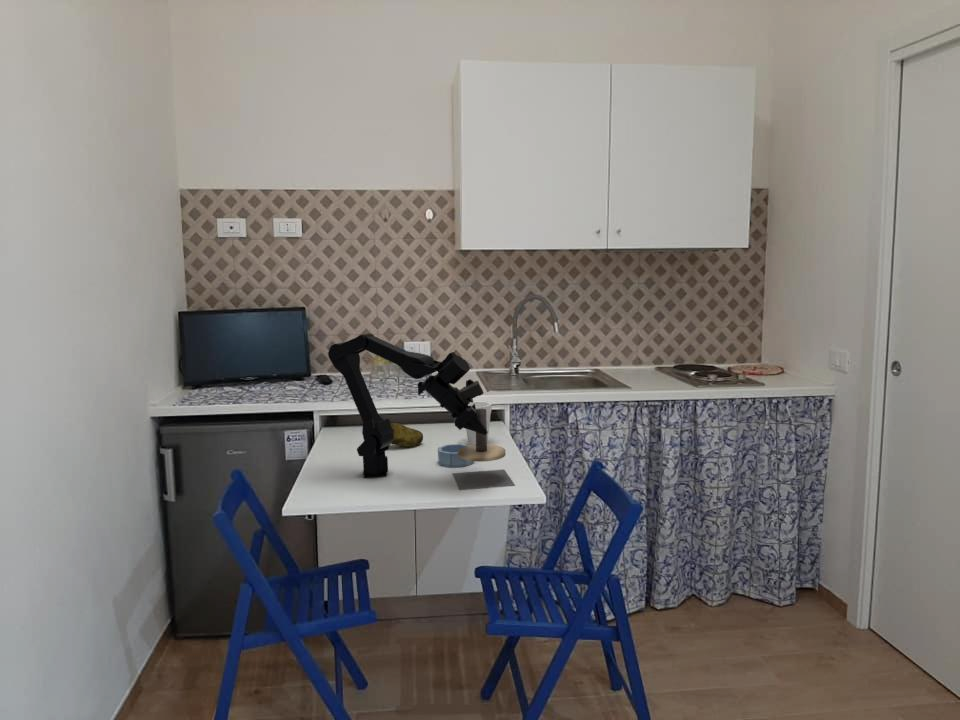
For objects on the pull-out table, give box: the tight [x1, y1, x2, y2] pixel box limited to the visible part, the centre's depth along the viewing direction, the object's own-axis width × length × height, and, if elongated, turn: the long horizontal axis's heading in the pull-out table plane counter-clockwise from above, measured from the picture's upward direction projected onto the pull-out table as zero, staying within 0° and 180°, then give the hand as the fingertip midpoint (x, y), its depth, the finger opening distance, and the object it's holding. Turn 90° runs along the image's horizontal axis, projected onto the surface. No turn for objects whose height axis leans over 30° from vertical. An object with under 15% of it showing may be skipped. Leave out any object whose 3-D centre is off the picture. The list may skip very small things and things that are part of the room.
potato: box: [390, 422, 424, 448], centre depth 238 cm, size 8×13×8 cm, turn 98°
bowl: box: [437, 443, 474, 468], centre depth 218 cm, size 10×10×4 cm
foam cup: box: [465, 400, 492, 445], centre depth 239 cm, size 10×9×13 cm
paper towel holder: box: [458, 409, 506, 463], centre depth 199 cm, size 13×13×12 cm
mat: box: [451, 469, 516, 491], centre depth 201 cm, size 15×15×1 cm
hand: (486, 432), depth 200 cm, fingers closed on paper towel holder, 3 cm apart
